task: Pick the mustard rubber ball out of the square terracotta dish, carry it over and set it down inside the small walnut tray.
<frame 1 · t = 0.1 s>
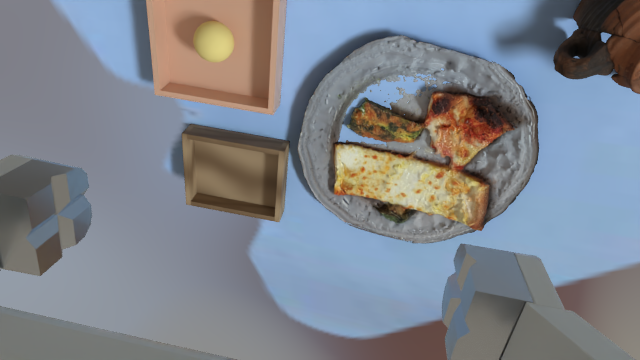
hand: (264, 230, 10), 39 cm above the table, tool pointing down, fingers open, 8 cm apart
tray: (239, 168, 56), on the table
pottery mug: (612, 28, 42), on the table
ball: (214, 41, 46), point 2 cm above the table, touching dish
dish: (222, 35, 48), on the table
food plate: (413, 144, 51), on the table
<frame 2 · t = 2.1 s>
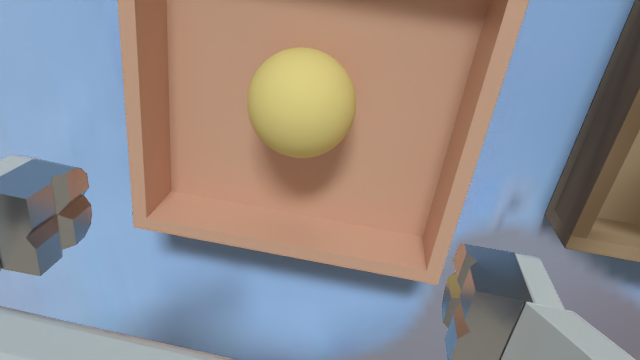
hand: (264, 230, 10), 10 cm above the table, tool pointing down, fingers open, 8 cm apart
ball: (301, 103, 17), point 2 cm above the table, touching dish
dish: (311, 85, 19), on the table
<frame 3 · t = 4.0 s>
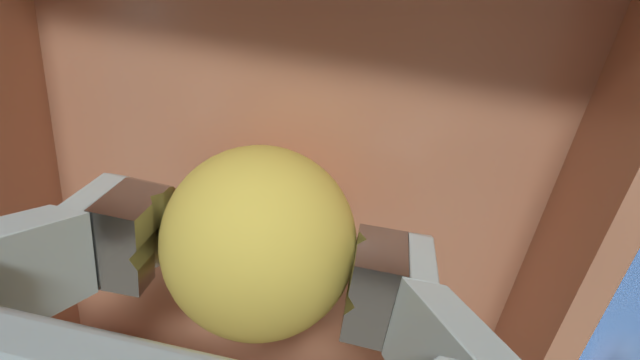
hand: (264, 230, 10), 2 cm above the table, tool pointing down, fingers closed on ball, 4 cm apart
ball: (260, 241, 9), point 2 cm above the table, touching dish, gripper
dish: (287, 187, 12), on the table
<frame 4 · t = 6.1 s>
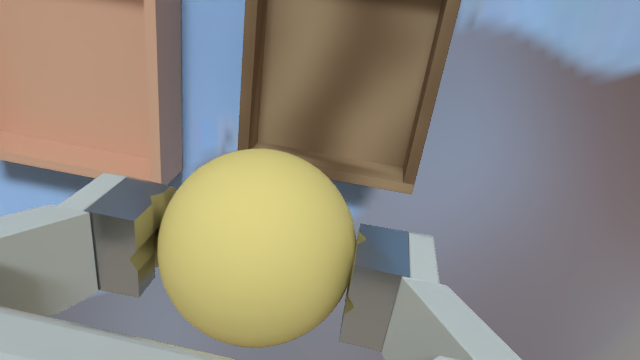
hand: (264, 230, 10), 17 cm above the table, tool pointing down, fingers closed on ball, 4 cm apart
tray: (344, 61, 25), on the table
ball: (259, 245, 9), point 18 cm above the table, touching gripper
dish: (75, 51, 27), on the table
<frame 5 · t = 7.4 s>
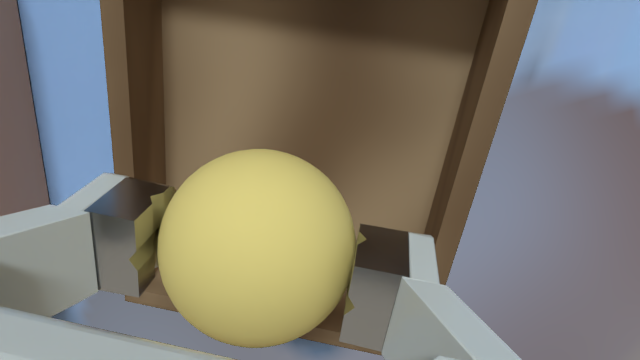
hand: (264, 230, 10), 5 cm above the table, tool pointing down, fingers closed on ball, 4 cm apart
tray: (303, 135, 15), on the table
ball: (259, 245, 9), point 6 cm above the table, touching gripper
when the fingers open (5 cm above the table, at t = 8.2 s): ball drops 2 cm, resting on tray.
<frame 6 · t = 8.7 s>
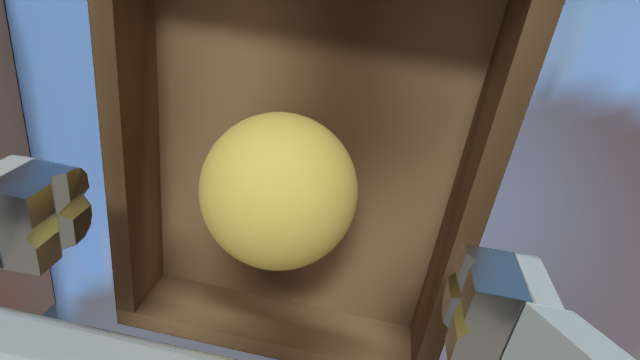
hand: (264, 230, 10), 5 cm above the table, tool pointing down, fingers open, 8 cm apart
tray: (305, 151, 14), on the table
ball: (279, 190, 12), point 3 cm above the table, touching tray
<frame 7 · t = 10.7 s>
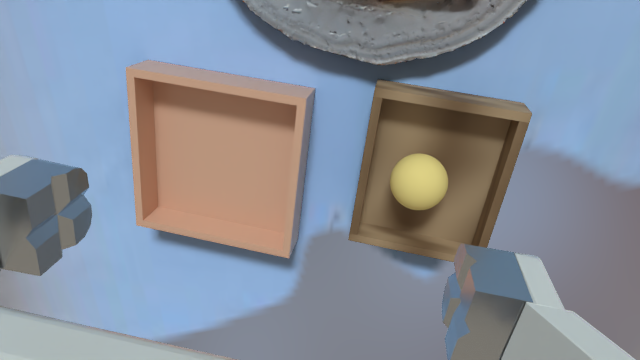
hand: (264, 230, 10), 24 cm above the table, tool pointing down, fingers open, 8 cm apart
tray: (430, 168, 34), on the table
ball: (418, 181, 32), point 3 cm above the table, tilted 24°, touching tray
dish: (227, 154, 37), on the table
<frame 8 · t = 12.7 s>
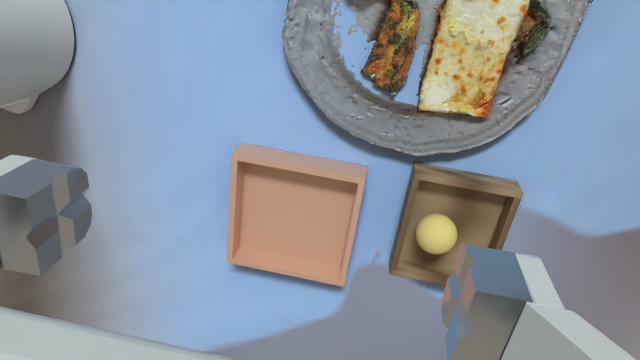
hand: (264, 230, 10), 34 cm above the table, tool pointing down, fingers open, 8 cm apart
tray: (449, 222, 47), on the table
ball: (436, 233, 45), point 3 cm above the table, tilted 43°, touching tray
dish: (296, 209, 49), on the table
food plate: (428, 9, 39), on the table
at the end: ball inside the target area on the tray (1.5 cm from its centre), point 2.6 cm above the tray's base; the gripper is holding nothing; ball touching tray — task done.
